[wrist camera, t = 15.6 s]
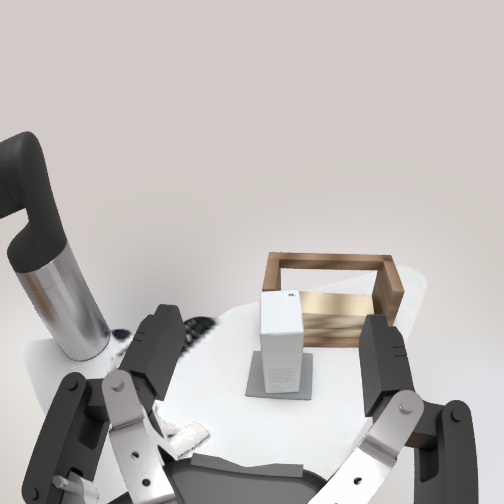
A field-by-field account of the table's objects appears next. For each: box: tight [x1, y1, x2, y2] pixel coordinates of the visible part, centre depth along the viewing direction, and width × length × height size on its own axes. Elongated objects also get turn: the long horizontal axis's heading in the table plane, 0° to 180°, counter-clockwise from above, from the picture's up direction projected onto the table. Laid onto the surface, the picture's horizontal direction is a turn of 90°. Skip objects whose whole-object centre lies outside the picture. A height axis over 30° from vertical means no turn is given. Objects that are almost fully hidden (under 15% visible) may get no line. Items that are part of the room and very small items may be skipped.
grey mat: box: [245, 351, 313, 400], centre depth 35 cm, size 8×7×1 cm
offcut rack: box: [262, 252, 404, 347], centre depth 38 cm, size 17×8×10 cm, turn 82°
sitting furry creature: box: [109, 402, 209, 457], centre depth 24 cm, size 10×9×12 cm
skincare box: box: [260, 290, 304, 393], centre depth 31 cm, size 6×4×12 cm
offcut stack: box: [299, 292, 374, 337], centre depth 39 cm, size 12×5×5 cm, turn 82°
